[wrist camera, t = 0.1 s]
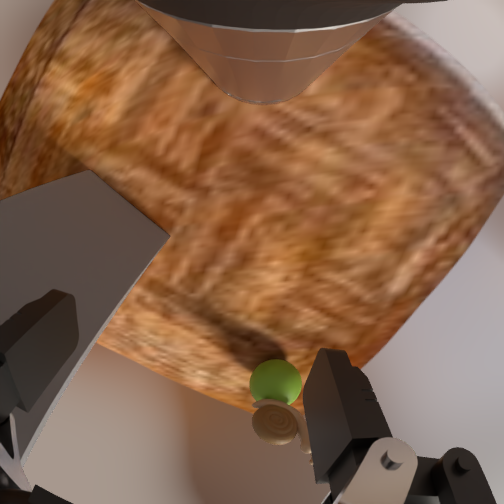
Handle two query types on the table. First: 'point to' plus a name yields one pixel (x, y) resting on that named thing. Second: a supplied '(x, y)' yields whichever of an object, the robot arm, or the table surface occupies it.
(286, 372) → the snail figurine
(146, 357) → the table surface
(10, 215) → the pedestal
